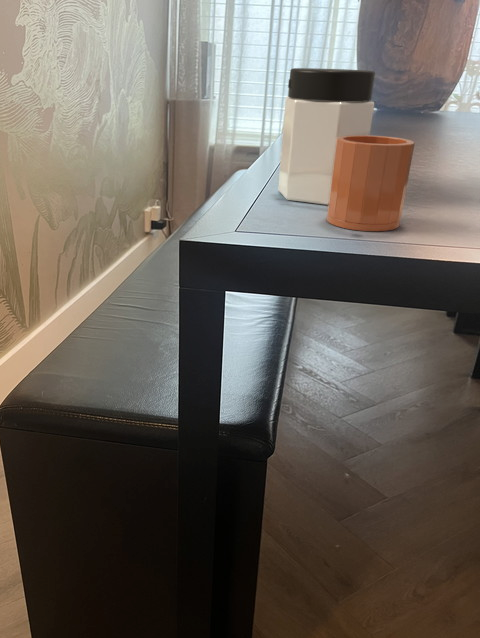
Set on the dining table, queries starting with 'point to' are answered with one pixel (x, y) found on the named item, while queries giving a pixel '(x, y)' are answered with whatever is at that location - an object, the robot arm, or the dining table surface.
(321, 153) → the jar
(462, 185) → the dining table surface
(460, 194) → the dining table surface
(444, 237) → the dining table surface
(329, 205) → the pot
